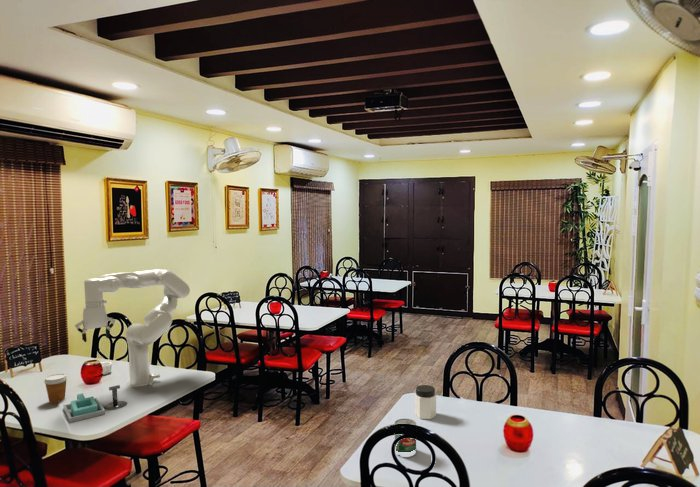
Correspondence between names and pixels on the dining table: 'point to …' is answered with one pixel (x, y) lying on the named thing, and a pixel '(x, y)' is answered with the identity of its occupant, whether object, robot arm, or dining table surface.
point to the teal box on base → (83, 405)
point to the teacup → (106, 367)
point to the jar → (425, 402)
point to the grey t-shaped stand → (115, 400)
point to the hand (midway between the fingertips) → (96, 339)
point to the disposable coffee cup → (56, 387)
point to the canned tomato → (406, 443)
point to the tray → (84, 416)
